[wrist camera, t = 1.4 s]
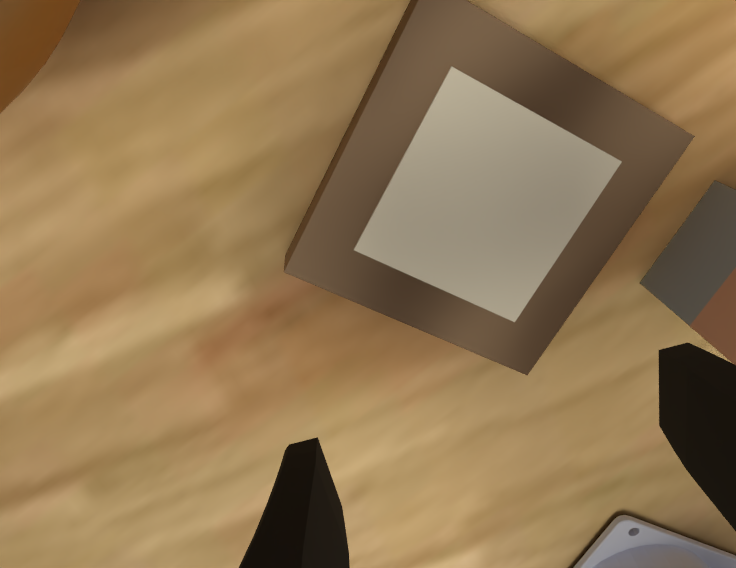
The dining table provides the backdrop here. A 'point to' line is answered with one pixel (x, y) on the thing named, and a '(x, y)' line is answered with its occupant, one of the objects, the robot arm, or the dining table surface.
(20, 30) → the flower pot
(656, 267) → the block stack
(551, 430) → the dining table surface
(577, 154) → the walnut board
